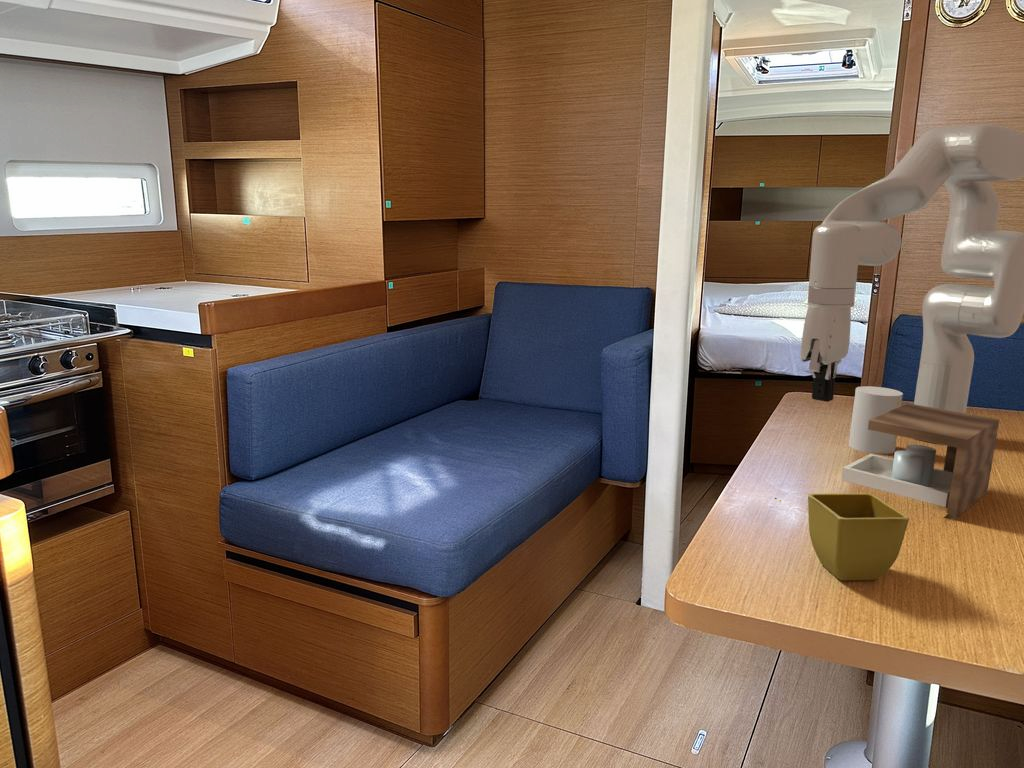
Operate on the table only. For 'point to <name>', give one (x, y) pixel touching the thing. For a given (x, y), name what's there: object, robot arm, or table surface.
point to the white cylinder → (866, 408)
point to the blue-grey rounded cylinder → (908, 466)
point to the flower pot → (855, 534)
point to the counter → (949, 446)
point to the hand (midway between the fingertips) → (822, 399)
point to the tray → (878, 476)
